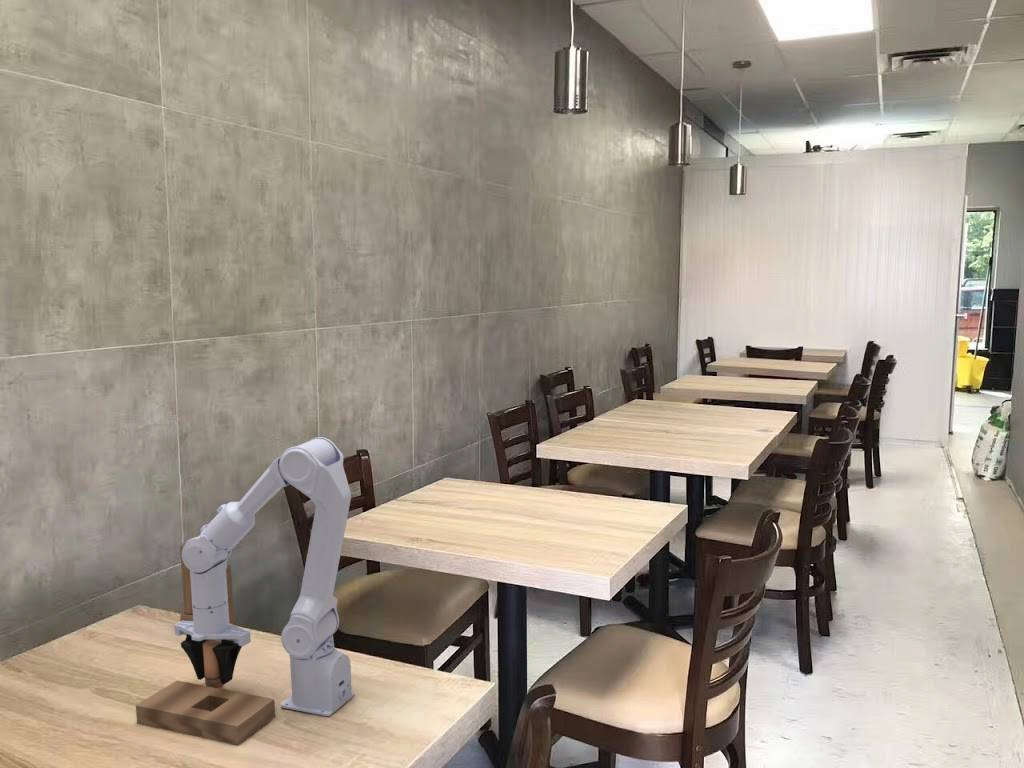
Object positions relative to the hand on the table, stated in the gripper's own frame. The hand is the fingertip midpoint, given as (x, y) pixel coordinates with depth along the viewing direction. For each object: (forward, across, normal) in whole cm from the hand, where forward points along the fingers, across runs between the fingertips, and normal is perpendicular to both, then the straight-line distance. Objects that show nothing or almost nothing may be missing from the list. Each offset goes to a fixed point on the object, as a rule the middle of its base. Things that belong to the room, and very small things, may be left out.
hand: (215, 679), depth 143 cm
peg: (+2, 0, 0) cm, 2 cm away
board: (+2, +5, -8) cm, 10 cm away
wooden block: (+3, -20, +21) cm, 29 cm away
